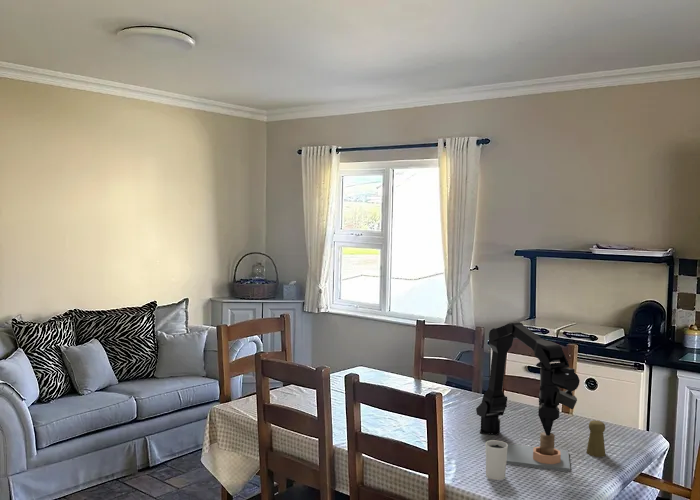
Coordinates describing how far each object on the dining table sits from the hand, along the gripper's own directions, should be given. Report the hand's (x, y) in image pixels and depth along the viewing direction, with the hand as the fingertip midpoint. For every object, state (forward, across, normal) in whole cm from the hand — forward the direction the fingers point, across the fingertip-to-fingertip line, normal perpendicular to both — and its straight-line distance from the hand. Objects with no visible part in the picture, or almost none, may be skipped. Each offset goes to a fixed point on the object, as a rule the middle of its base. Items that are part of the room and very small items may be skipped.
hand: (547, 430), depth 205 cm
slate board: (+10, +2, +3) cm, 11 cm away
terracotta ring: (+10, 0, 0) cm, 10 cm away
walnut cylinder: (+9, 0, 0) cm, 9 cm away
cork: (+11, +13, -16) cm, 23 cm away
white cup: (+11, -17, +15) cm, 25 cm away
